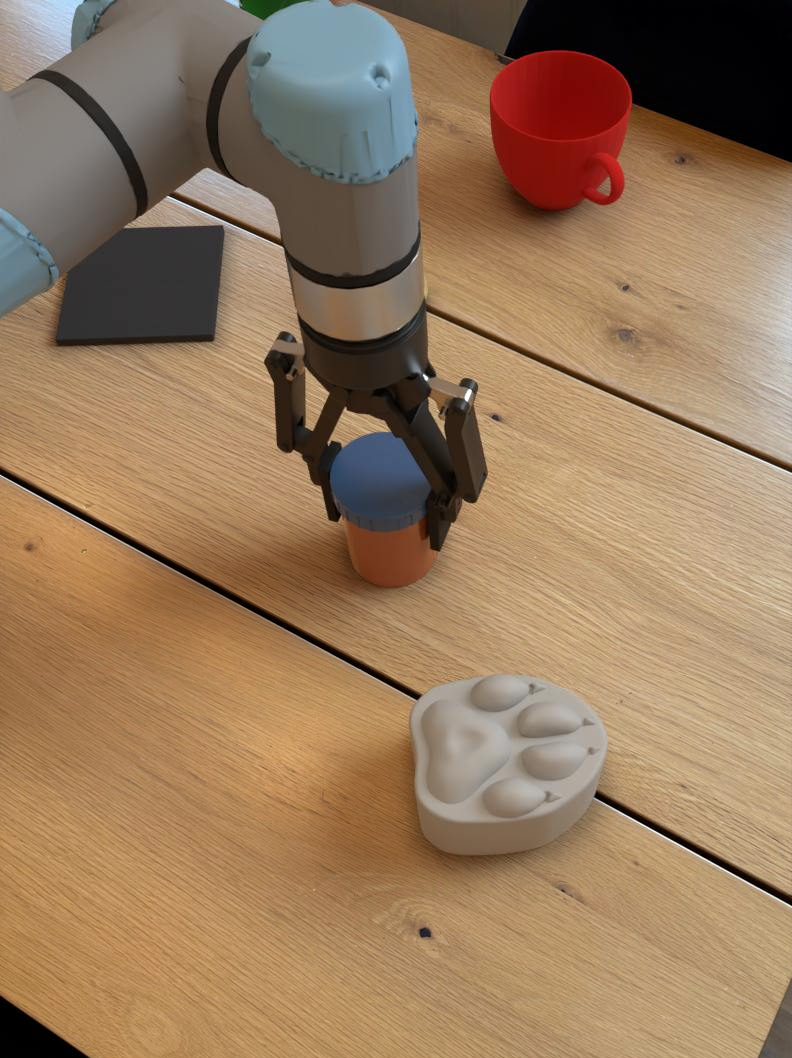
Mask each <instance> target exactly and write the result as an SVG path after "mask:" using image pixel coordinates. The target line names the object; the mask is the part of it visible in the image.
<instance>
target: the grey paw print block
mask: <svg viewBox="0 0 792 1058" xmlns="http://www.w3.org/2000/svg"><path fill="white" fill-rule="evenodd" d="M408 728H409V737H410V741H411V751H412V757H413V763H414V769H415V770H414V777H413V778H414V780H413V786H414V787H413V788H414V795H415V803H416V808H417V812H418V813H417V814H418V821H419V826H420V830H421V833H422V835H423V836H424V837H425V839H426V840H427V841H428V842H429V844H431V845H433V846H434V847H435V848H437V849H438V850H440V851H442V852H445V853H448V854H451V855H457V856H497V855H507V854H513V853H520V852H526V851H532V850H536V849H539V848H541V847H544V846H546V845H548V844H550V843H551V842H553V841H555V840H556V839H558V838H559V837H560V836H562V835H563V834H564V833H566V832H567V831H568V830H570V829H571V828H572V827H573V826H574V825H575V824H576V823H578V822H579V821H580V819H581V818H582V817H583V816H584V815H585V813H586V812H587V810H588V809H589V807H590V806H591V803H592V802H593V800H594V798H595V795H596V793H597V789H598V785H599V782H600V780H601V777H602V776H601V775H602V771H603V768H604V765H605V761H606V758H607V753H608V748H609V739H608V733H607V730H606V727H605V725H604V723H603V721H602V719H601V717H600V716H599V715H598V713H597V712H596V711H595V710H594V709H593V708H592V706H590V705H589V704H588V703H587V702H585V700H583V698H581V697H580V696H579V695H577V694H575V693H574V692H572V691H570V690H569V689H567V688H565V687H563V686H560V685H558V684H556V683H553V682H550V681H548V680H545V679H542V678H540V677H537V676H533V675H528V674H505V673H496V674H491V675H483V676H482V675H481V676H477V677H470V678H467V679H460V680H454V681H449V682H445V683H442V684H438V685H435V686H433V687H431V688H429V689H428V690H427V691H425V692H424V693H423V694H422V695H421V696H420V697H419V698H418V699H417V700H416V702H415V703H414V704H413V706H412V707H411V710H410V712H409V715H408Z"/></svg>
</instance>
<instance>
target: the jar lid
mask: <svg viewBox="0 0 792 1058" xmlns="http://www.w3.org/2000/svg"><path fill="white" fill-rule="evenodd" d="M329 482H330V486H331V494H332V499H333V502H335V505H336V507H337V509H338V512H340V513H341V514H342V515H343V517H345V518H346V520H347V521H349V522H351V523H352V524H354V525H356V526H358V528H359V527H360V528H362V529H365V530H369V531H371V532H373V531H374V532H385V533H387V532H392V531H398V530H399V531H400V530H401V529H404V528H407V527H409V526H411V525H412V526H413V525H414V524H415V523H416V522H418V521H419V520H421V519H422V518H424V517H425V515H426V514H427V513H428V511H427V497H428V495H429V493H430V490H431V488H432V487H431V486H430V484H429V482H428V481H427V479H426V478H425V476H424V474H423V473H422V471H421V469H420V468H419V466H418V464H417V463H416V461H415V460H414V458H413V456H412V455H411V453H410V451H409V450H408V448H407V446H406V445H405V443H404V442H403V440H402V438H395V437H394V435H393V434H392V432H391V431H376V432H370V433H367V434H363V435H360V436H359V437H357V438H354V439H353V440H351V441H349V442H348V443H347V444H346V445H344V446H343V447H342V449H341V451H340V452H339V453H338V454H337V456H336V458H335V460H334V462H333V464H332V466H331V470H330V480H329ZM342 515H341V516H342Z"/></svg>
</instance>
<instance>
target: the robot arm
mask: <svg viewBox="0 0 792 1058" xmlns="http://www.w3.org/2000/svg"><path fill="white" fill-rule="evenodd" d="M70 31H71V32H70V33H71V34H70V35H71V36H70V50H71V51H69V52H68V53H66V55H64V56H62V57H60V58H59V59H58V60H56V61H55V62H53V63H52V64H51V65H49V66H47V67H45V68H44V69H42V70H40V71H38V72H36V73H34V74H33V75H32V76H30V77H28V79H26V80H25V81H24V82H23V83H21V84H20V85H17V86H16V87H14V88H12V89H10V90H9V91H8V90H6V89H4V88H3V87H2V86H1V85H0V320H1V319H3V318H4V317H6V316H7V315H9V314H10V313H12V312H14V311H15V310H17V309H18V308H20V307H22V306H23V305H25V304H26V303H28V302H29V301H31V300H32V299H34V298H36V297H38V296H40V294H44V293H46V292H49V290H51V289H52V288H53V287H54V285H56V284H57V282H58V280H59V279H60V278H62V277H63V276H64V275H66V274H67V273H68V271H69V270H71V269H72V268H73V267H74V266H76V265H77V264H78V263H79V262H81V261H82V260H83V259H84V258H86V257H87V256H88V255H90V254H91V253H92V252H93V251H95V250H96V249H97V248H98V247H100V246H101V245H102V244H103V243H105V242H106V241H107V240H108V239H110V238H111V237H112V236H114V235H115V234H116V233H117V232H119V231H120V230H121V229H122V228H126V226H128V225H129V224H130V223H133V222H134V221H136V220H137V219H138V218H139V217H142V216H144V215H145V214H146V213H148V212H149V211H150V210H151V209H153V208H154V207H155V206H156V205H158V204H159V203H161V202H162V201H164V199H166V198H167V197H169V196H170V195H172V193H174V192H175V191H177V190H178V189H179V188H181V187H182V186H183V185H184V184H186V183H187V182H188V181H190V180H191V179H192V178H193V177H195V176H196V175H197V174H199V173H201V172H202V171H203V170H206V169H209V170H211V171H213V172H215V173H217V174H219V175H221V176H223V177H224V178H227V179H229V180H231V181H233V182H235V183H236V184H238V185H240V186H242V187H244V188H247V189H249V190H251V191H254V192H255V193H257V194H259V195H260V196H262V197H264V198H266V199H267V200H268V201H269V202H270V203H271V205H272V206H273V209H274V211H275V215H276V219H277V223H278V227H279V234H280V240H281V245H282V248H283V252H284V258H285V263H286V268H287V274H288V280H289V283H290V289H291V294H292V298H293V304H294V307H295V310H296V316H297V321H298V326H299V330H300V331H299V332H300V336H301V341H302V343H299V342H298V340H297V339H296V337H295V336H294V335H293V334H292V333H291V332H289V331H287V330H286V331H285V330H283V331H280V332H279V333H278V335H277V337H276V338H275V340H274V342H273V343H272V345H271V347H270V349H269V351H268V352H267V355H266V356H265V358H264V360H263V364H264V366H265V368H266V370H267V372H268V375H269V376H270V379H271V380H272V383H273V396H274V400H273V401H274V417H275V436H276V437H275V440H276V447H277V448H278V450H280V451H281V452H283V453H286V454H292V453H293V451H295V453H299V454H300V455H301V459H302V461H304V463H306V466H307V470H308V475H309V479H310V481H311V483H312V484H313V485H314V486H318V487H320V488H321V492H322V497H323V501H324V507H325V511H326V515H327V520H328V521H329V522H333V523H336V524H338V523H339V521H340V519H341V517H342V514H341V513H340V512H338V509H337V507H336V505H335V502H333V499H332V494H331V486H330V482H329V480H330V470H331V466H332V464H333V462H334V460H335V458H336V456H337V454H338V453H339V452H340V451H341V449H343V446H342V442H340V441H336V440H332V439H331V437H332V436H333V433H334V432H335V431H334V430H335V429H336V427H337V425H338V422H339V421H340V418H341V416H342V414H343V412H344V410H345V408H346V411H347V412H350V413H353V414H359V415H369V416H371V417H374V418H376V419H378V420H380V421H384V423H385V424H386V426H387V428H388V429H389V432H392V434H393V435H394V437H395V438H402V440H403V442H404V443H405V445H406V446H407V448H408V450H409V451H410V453H411V455H412V456H413V458H414V460H415V461H416V463H417V464H418V466H419V468H420V469H421V471H422V473H423V474H424V476H425V478H426V479H427V481H428V482H429V484H430V486H431V487H432V488H431V490H430V493H429V495H428V497H427V511H428V524H429V537H430V549H431V550H434V551H437V553H440V552H441V550H442V547H443V545H444V543H445V541H446V538H447V535H448V533H449V532H450V529H451V526H452V524H454V523H456V521H457V519H458V516H459V514H460V512H461V509H462V506H463V502H465V503H467V504H476V503H477V502H478V500H479V498H480V495H481V493H482V490H483V487H484V486H485V482H486V480H487V478H488V476H489V471H488V465H487V461H486V456H485V451H484V447H483V443H482V438H481V432H480V428H479V423H478V418H477V416H476V409H475V405H474V404H475V400H476V397H477V394H478V391H479V384H478V382H477V381H475V380H474V379H472V378H470V377H463V378H461V380H460V382H459V384H455V383H453V382H451V381H447V380H445V379H443V378H441V377H438V376H437V371H436V369H435V367H434V366H433V365H432V363H431V361H430V360H429V334H428V317H427V302H426V301H427V299H426V300H425V296H424V274H425V272H424V271H425V270H424V257H423V241H422V240H423V239H422V228H421V227H422V225H421V220H420V208H419V207H420V206H419V190H418V189H419V186H418V185H419V182H418V181H419V180H418V179H419V177H418V176H419V175H418V171H419V169H418V135H419V133H420V132H419V131H420V130H419V116H418V111H417V110H418V109H416V103H415V100H414V99H415V98H414V94H413V87H412V78H411V73H410V65H409V58H408V53H407V50H406V46H405V44H404V41H403V40H402V38H401V36H400V34H399V33H398V31H397V30H396V29H395V27H394V26H393V25H392V24H391V23H390V22H389V21H388V20H387V19H386V18H385V17H384V16H382V15H381V14H379V13H378V12H377V11H374V10H372V9H370V8H368V7H366V6H364V5H360V4H358V3H353V2H350V3H346V4H344V5H337V4H335V5H334V4H333V3H332V1H330V0H313V1H305V2H301V3H297V4H293V5H291V6H289V7H287V8H284V9H282V10H279V11H277V12H275V13H274V14H272V15H271V16H269V17H268V18H267V19H265V20H264V21H263V20H261V19H259V18H258V17H256V16H254V15H252V14H250V13H248V12H246V11H244V10H242V9H240V7H239V6H237V5H235V4H232V3H231V2H229V1H227V0H83V2H82V3H80V4H78V5H77V7H76V8H75V10H74V14H73V17H72V22H71V29H70ZM306 370H307V371H308V372H309V373H310V375H312V376H313V378H314V379H316V380H317V382H318V383H319V384H320V385H321V386H322V387H323V388H324V389H325V390H326V392H328V394H327V395H328V396H327V397H326V400H325V402H324V404H323V407H322V409H321V411H320V414H319V416H318V418H317V421H316V423H315V425H314V428H313V430H311V429H310V428H308V427H306V426H307V425H306V424H307V423H306V422H307V412H306V411H307V408H306V407H307V405H306V404H307V403H306V401H307V400H306V397H307V395H306V390H307V389H306V385H307V384H306ZM429 398H430V399H432V400H433V401H434V402H435V403H436V407H437V410H438V412H439V413H438V416H437V417H438V419H439V420H440V421H442V422H444V425H443V428H444V429H443V432H444V434H443V432H442V430H441V429H440V427H439V425H438V423H437V421H436V419H435V418H434V416H433V414H432V412H431V411H430V407H429V406H430V401H429ZM330 439H331V440H330ZM329 441H330V442H329Z"/></svg>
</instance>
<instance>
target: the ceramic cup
mask: <svg viewBox="0 0 792 1058" xmlns="http://www.w3.org/2000/svg"><path fill="white" fill-rule="evenodd" d="M632 96H633V95H632V90H631V88H630V85H629V83H628V81H627V79H626V78H625V77H624V75H623V74H622V73H621V71H620V70H618V69H617V68H616V67H614V66H613V65H611V64H610V63H608V62H607V61H604V60H602V59H601V58H598V57H595V56H593V55H591V54H587V53H582V52H578V51H570V50H546V51H540V52H539V51H538V52H534V53H530V54H527V55H524V56H521V57H519V58H517V59H515V60H513V61H511V62H510V63H508V64H507V65H505V66H504V67H503V68H502V69H501V70H500V72H499V73H497V75H496V76H495V78H494V80H493V81H492V83H491V86H490V91H489V120H490V133H491V137H492V138H491V139H492V144H493V149H494V153H495V155H496V156H495V157H496V159H497V162H498V164H499V167H500V169H501V171H502V173H503V175H504V176H505V178H506V179H507V181H508V183H509V184H510V185H511V186H512V187H513V188H514V190H515V191H516V192H517V193H518V194H520V196H522V198H524V199H525V200H526V201H527V202H528V203H530V204H531V205H532V206H535V207H537V208H539V209H543V210H547V211H560V210H561V211H562V210H567V209H571V208H572V207H573V208H574V207H575V206H576V205H578V204H579V203H581V202H582V201H584V200H585V199H586V200H587V201H590V202H591V203H593V204H595V205H598V206H610V205H612V204H614V203H616V202H617V201H618V200H619V199H620V198H621V197H622V195H623V193H624V189H625V184H626V183H625V174H624V171H623V168H622V166H621V164H620V163H619V161H618V159H619V157H620V154H621V151H622V148H623V147H624V142H625V138H626V135H627V130H628V126H629V122H630V116H631V111H632V110H631V109H632V104H633V97H632ZM607 178H609V181H610V192H609V194H608V195H607V194H604V193H602V192H601V191H599V190H598V189H599V188H600V187H601V186H602V184H603V183H604V182H605V181H606V180H607Z"/></svg>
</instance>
